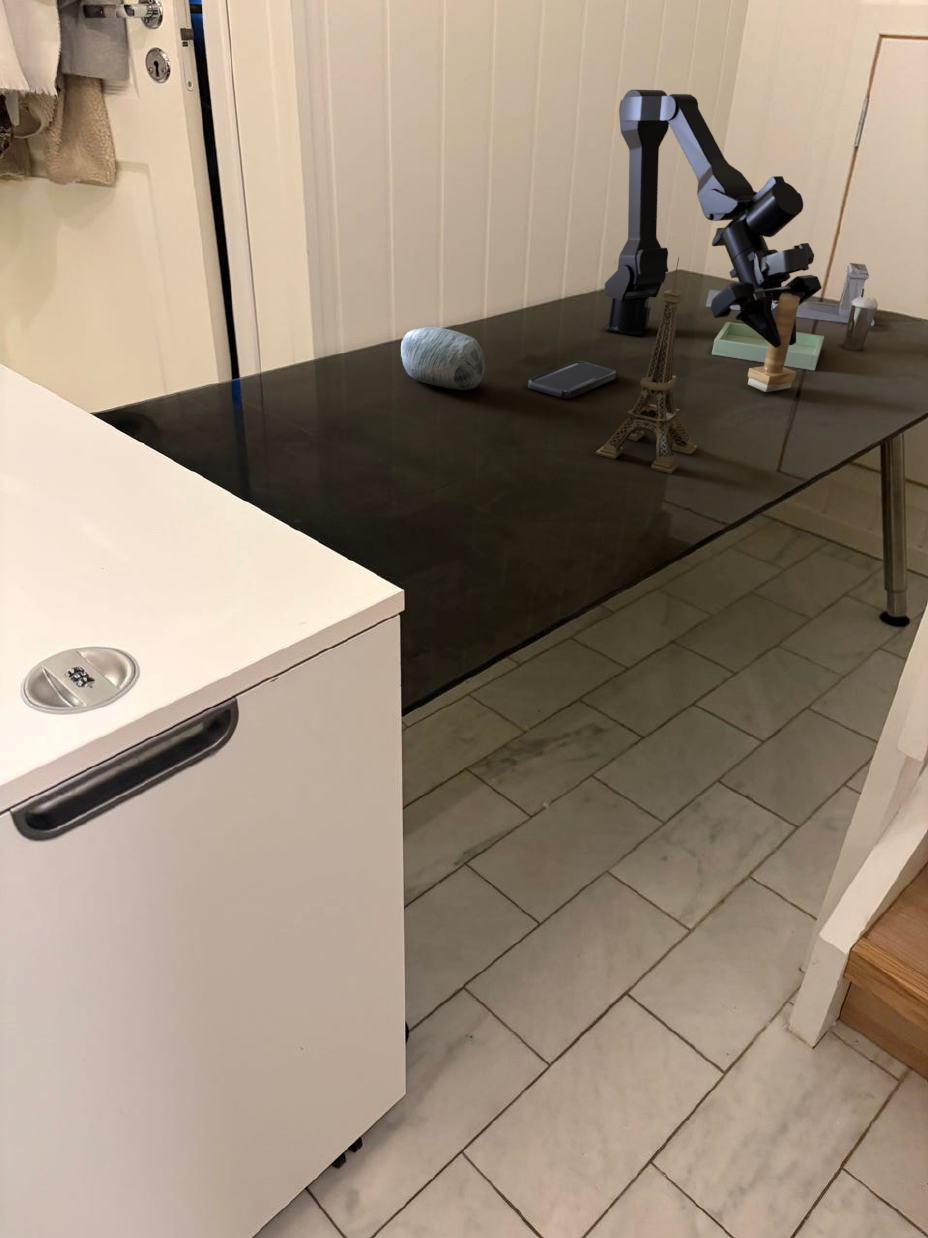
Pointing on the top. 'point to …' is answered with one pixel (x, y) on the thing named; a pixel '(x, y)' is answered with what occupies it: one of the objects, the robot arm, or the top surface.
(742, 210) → the robot arm
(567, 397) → the phone
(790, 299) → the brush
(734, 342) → the tray
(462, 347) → the blue yarn skein
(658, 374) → the eiffel tower
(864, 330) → the milkshake
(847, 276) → the monument
